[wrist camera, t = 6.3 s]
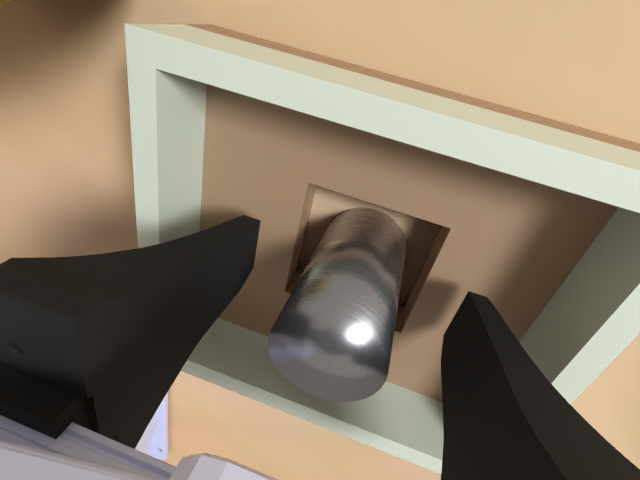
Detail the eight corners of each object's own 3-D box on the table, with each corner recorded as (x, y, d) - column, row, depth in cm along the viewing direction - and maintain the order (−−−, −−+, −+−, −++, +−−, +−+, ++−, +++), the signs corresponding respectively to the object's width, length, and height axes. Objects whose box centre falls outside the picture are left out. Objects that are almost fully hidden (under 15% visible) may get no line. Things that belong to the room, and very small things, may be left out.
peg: (393, 288, 15) (371, 416, 10) (319, 266, 16) (262, 377, 11) (417, 221, 14) (404, 335, 8) (333, 198, 14) (274, 292, 9)
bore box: (475, 399, 17) (484, 491, 14) (197, 296, 19) (143, 356, 15) (659, 149, 11) (763, 205, 7) (210, 24, 12) (124, 23, 9)
